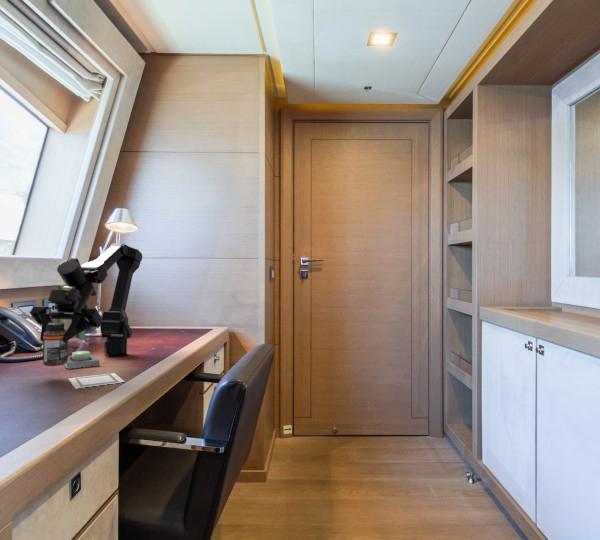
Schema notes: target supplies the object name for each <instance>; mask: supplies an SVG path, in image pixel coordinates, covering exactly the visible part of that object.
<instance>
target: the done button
mask: <svg viewBox="0 0 600 540" xmlns="http://www.w3.org/2000/svg"><path fill="white" fill-rule="evenodd" d="M90 355H91V352H90V351H88V350H86V351H77V352H73V353H72V355H71V357H72V361H73V362H74V361H84V360H90Z"/></svg>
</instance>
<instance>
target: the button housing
mask: <svg viewBox="0 0 600 540" xmlns="http://www.w3.org/2000/svg"><path fill="white" fill-rule="evenodd" d="M63 366H64V368H65V369H66V368H67V369H66V370H70V369H71V370H72V368H73V369H79V368H80V369H81V367H83V368H92V367H91V366H93V367H99V366H100V359H99V358H98V357H97V356H96V355H94V354H90V360H84V361H74V362H73V361H72V356H68V361H67V363H66V364H63Z"/></svg>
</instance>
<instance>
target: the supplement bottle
mask: <svg viewBox="0 0 600 540" xmlns="http://www.w3.org/2000/svg"><path fill="white" fill-rule="evenodd" d="M47 328H48V329H47V331H46V332H44V334H43V341H42V365H43V366H47V367H57V366H62V365H63V364H66V363H67V361H68V357H69V356H68V355H69V354H68V341H67V342H63V337H64V335H65V333H66V330H65V329H64V323H61V322H57V321H56V322H54V323H49V324H48V327H47ZM63 366H64V365H63Z"/></svg>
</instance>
